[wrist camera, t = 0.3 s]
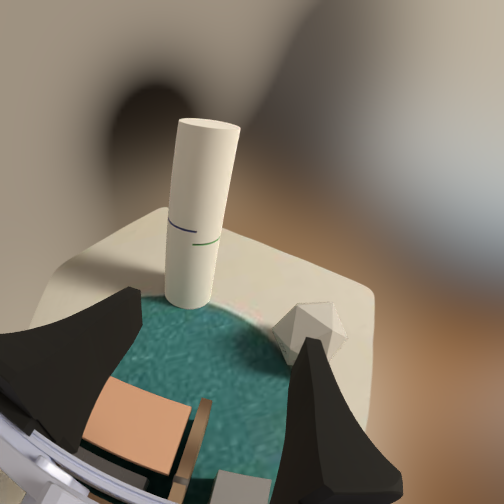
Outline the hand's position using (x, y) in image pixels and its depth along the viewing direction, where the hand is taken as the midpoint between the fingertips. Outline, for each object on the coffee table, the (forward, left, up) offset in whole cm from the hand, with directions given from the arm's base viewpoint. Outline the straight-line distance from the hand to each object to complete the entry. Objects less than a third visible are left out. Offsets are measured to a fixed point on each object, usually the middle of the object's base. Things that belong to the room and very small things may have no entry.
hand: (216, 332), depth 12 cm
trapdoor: (-2, +7, -17) cm, 19 cm away
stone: (-4, -4, -21) cm, 21 cm away
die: (+18, -9, -21) cm, 29 cm away
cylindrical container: (+24, +9, -21) cm, 33 cm away
